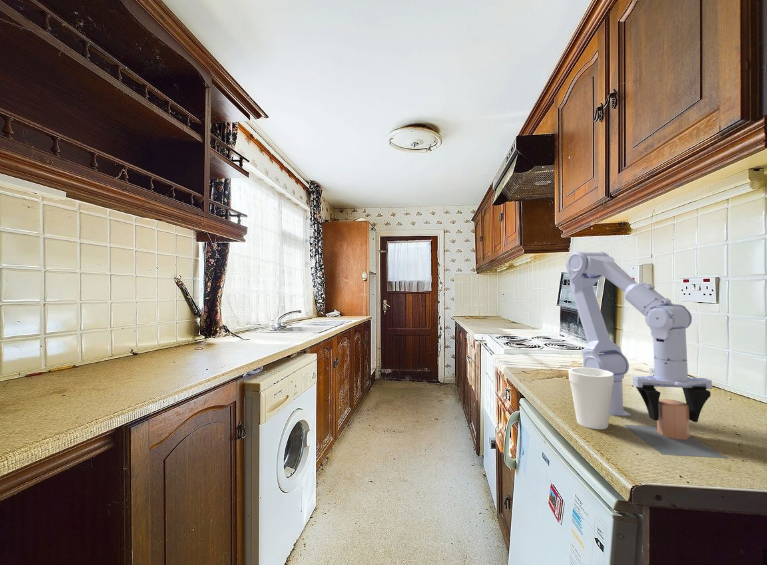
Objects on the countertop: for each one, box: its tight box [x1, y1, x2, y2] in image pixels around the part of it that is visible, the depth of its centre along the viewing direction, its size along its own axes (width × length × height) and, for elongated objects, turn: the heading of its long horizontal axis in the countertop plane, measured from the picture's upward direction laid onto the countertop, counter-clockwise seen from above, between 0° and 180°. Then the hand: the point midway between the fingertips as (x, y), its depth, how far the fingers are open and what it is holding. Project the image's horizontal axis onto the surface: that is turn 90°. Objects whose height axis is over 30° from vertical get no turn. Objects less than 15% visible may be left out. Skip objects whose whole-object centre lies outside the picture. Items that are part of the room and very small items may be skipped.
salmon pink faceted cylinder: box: [656, 398, 691, 440], centre depth 76 cm, size 5×5×7 cm
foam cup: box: [568, 367, 614, 430], centre depth 82 cm, size 10×9×13 cm
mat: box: [623, 424, 728, 459], centre depth 73 cm, size 15×11×1 cm
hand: (673, 419), depth 76 cm, fingers open, 7 cm apart
